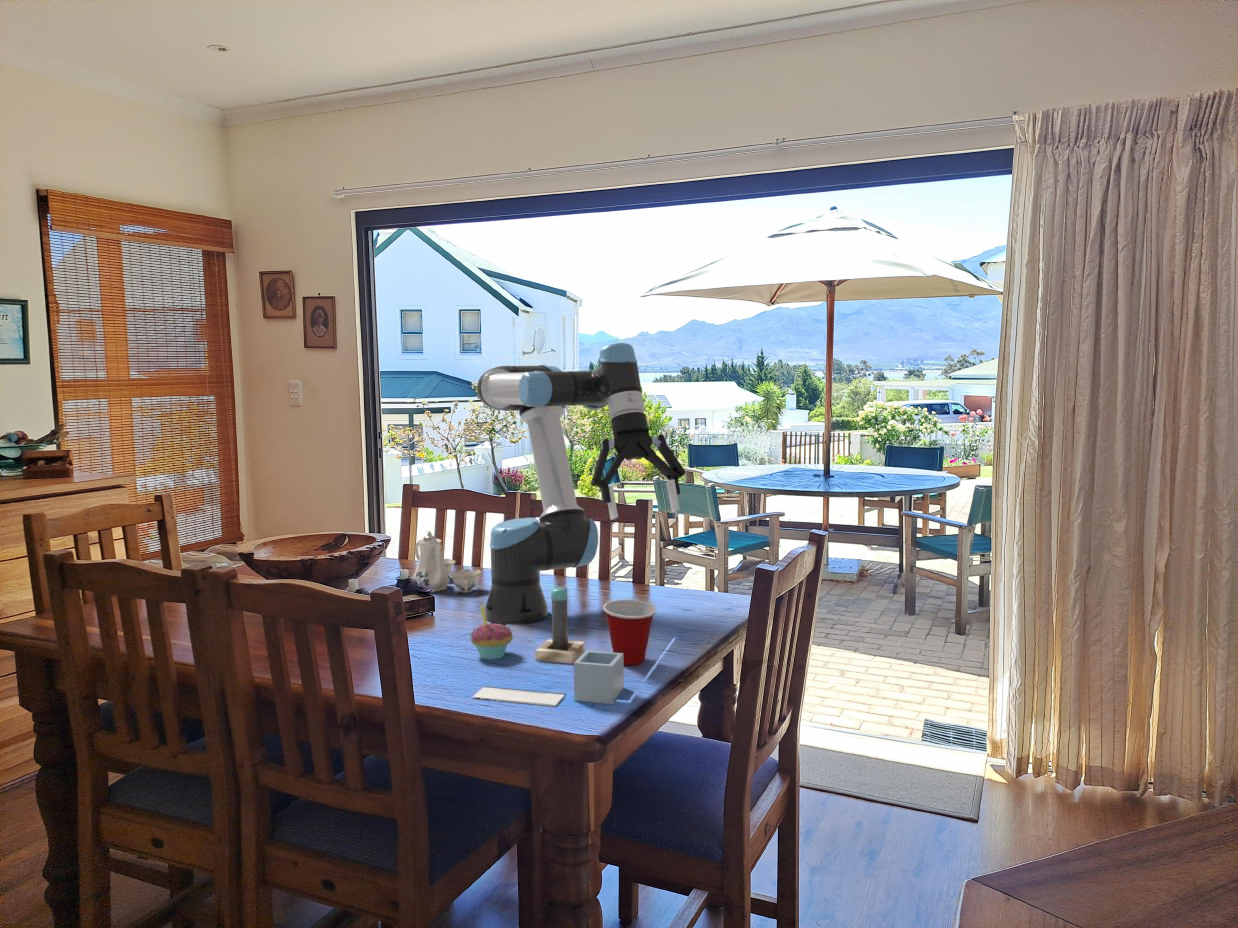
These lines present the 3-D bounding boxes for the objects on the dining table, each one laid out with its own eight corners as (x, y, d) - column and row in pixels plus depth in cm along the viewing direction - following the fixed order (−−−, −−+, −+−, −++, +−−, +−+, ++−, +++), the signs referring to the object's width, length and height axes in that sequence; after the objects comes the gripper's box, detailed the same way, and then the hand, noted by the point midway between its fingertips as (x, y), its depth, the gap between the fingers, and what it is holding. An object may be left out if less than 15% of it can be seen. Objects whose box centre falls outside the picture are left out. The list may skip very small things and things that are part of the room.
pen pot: (574, 700, 154) (573, 662, 154) (586, 686, 161) (586, 650, 160) (612, 704, 152) (612, 665, 152) (623, 689, 159) (623, 653, 159)
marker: (550, 657, 177) (548, 590, 175) (555, 652, 180) (554, 586, 178) (565, 658, 176) (564, 591, 174) (570, 653, 179) (569, 587, 177)
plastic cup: (632, 676, 166) (631, 616, 165) (592, 664, 173) (591, 606, 172) (668, 662, 174) (667, 604, 173) (628, 651, 181) (628, 596, 180)
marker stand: (535, 662, 175) (535, 650, 175) (549, 650, 183) (548, 638, 182) (572, 665, 173) (572, 653, 173) (584, 653, 181) (584, 641, 180)
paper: (472, 698, 156) (472, 696, 156) (503, 672, 169) (503, 670, 169) (555, 706, 152) (555, 704, 152) (580, 679, 165) (580, 677, 165)
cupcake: (476, 666, 173) (475, 608, 172) (466, 654, 181) (465, 598, 180) (518, 660, 177) (516, 603, 175) (506, 648, 184) (504, 593, 183)
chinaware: (492, 597, 234) (496, 536, 233) (437, 602, 223) (441, 538, 223) (442, 579, 255) (445, 524, 255) (389, 583, 245) (393, 525, 244)
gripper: (576, 414, 172) (593, 518, 168) (688, 406, 181) (707, 504, 177) (566, 425, 179) (582, 524, 175) (675, 417, 188) (693, 511, 184)
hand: (645, 515), depth 176 cm, fingers open, 13 cm apart
